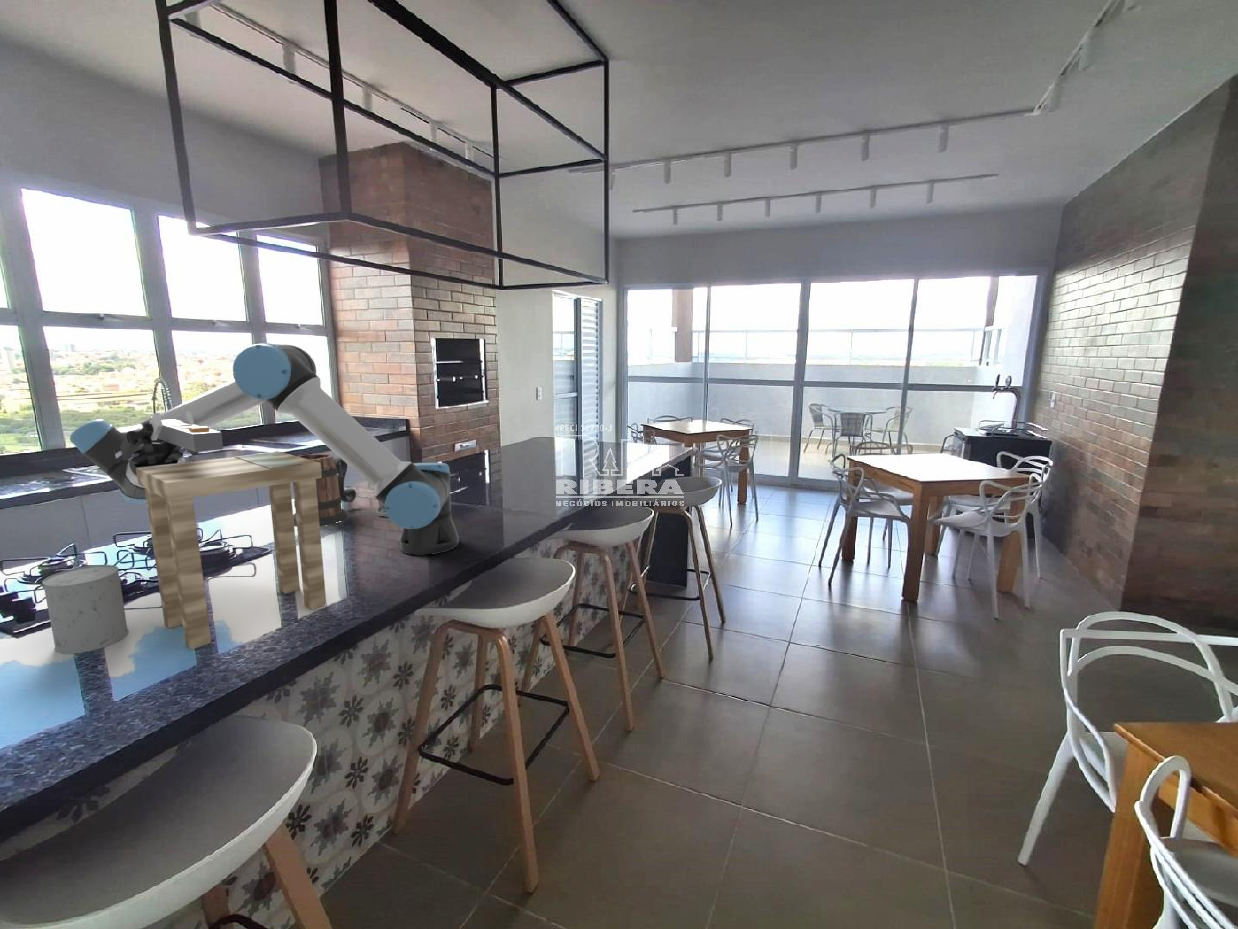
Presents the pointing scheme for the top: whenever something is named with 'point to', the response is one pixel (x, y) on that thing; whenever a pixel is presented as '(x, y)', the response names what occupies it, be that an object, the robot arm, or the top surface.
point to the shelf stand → (179, 538)
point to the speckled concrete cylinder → (85, 608)
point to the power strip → (190, 436)
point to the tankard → (330, 489)
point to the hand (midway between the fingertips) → (174, 418)
